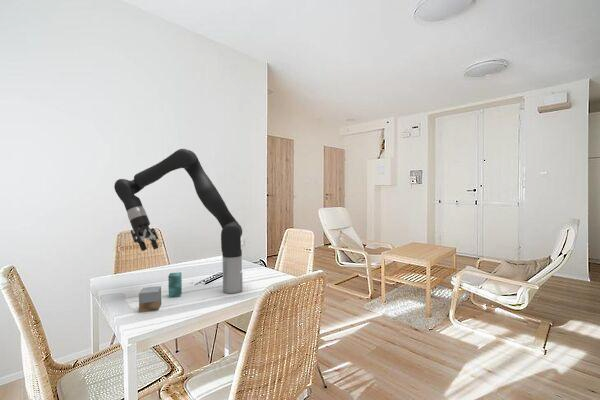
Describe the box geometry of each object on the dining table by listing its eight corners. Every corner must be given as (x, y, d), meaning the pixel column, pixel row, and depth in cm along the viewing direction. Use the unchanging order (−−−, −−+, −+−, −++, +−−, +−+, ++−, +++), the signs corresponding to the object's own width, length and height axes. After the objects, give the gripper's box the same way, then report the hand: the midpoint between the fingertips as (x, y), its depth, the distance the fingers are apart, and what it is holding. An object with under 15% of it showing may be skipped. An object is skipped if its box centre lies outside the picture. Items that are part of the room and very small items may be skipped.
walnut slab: (161, 304, 120) (161, 295, 120) (158, 310, 113) (158, 301, 113) (143, 306, 118) (143, 296, 118) (139, 313, 111) (138, 303, 111)
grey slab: (161, 295, 120) (161, 285, 120) (158, 301, 113) (158, 291, 113) (143, 297, 118) (142, 287, 117) (139, 303, 111) (138, 293, 111)
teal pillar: (181, 292, 133) (181, 272, 132) (180, 296, 128) (180, 275, 128) (170, 294, 131) (170, 273, 131) (168, 297, 126) (168, 276, 126)
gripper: (134, 214, 124) (147, 247, 122) (154, 215, 138) (166, 245, 136) (120, 221, 124) (132, 254, 122) (141, 221, 138) (153, 251, 136)
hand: (150, 249), depth 129 cm, fingers open, 8 cm apart
